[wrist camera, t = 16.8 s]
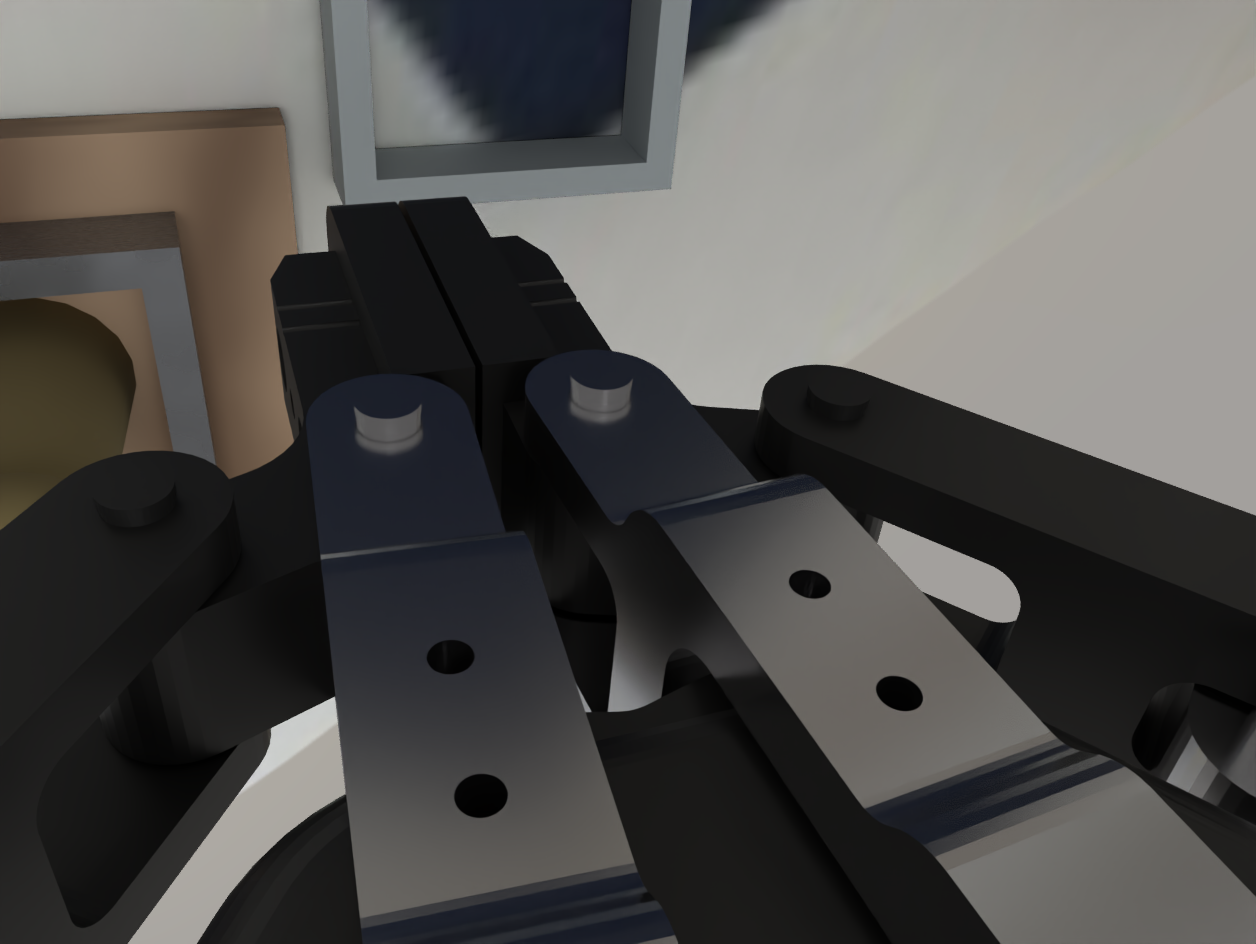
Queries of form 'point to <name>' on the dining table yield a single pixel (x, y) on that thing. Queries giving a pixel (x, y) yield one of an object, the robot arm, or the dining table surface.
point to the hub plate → (210, 245)
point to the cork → (57, 397)
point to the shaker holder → (515, 164)
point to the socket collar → (114, 261)
